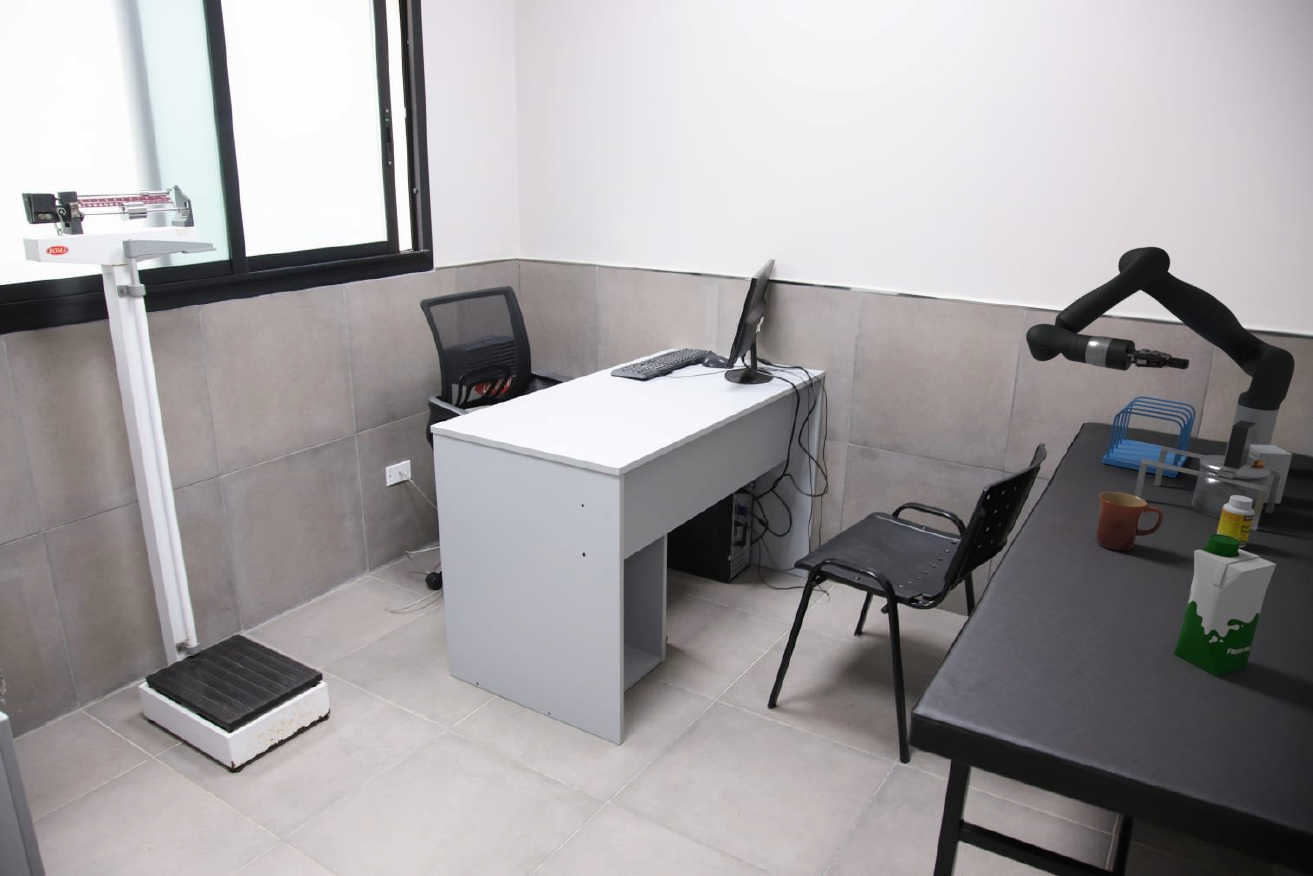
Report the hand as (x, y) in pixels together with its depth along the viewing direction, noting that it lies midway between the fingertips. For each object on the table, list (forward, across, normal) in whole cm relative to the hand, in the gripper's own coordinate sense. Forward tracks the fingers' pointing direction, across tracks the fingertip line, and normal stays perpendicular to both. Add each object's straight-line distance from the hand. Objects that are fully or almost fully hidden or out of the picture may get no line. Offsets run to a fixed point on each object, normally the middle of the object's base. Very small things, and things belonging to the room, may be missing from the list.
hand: (1187, 364), depth 203 cm
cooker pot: (+10, -2, +32) cm, 33 cm away
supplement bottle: (+20, -23, +32) cm, 44 cm away
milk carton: (+30, -81, +32) cm, 92 cm away
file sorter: (-11, +26, +32) cm, 43 cm away
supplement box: (+17, +15, +32) cm, 39 cm away
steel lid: (+14, -2, +22) cm, 26 cm away
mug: (+5, -43, +32) cm, 54 cm away
